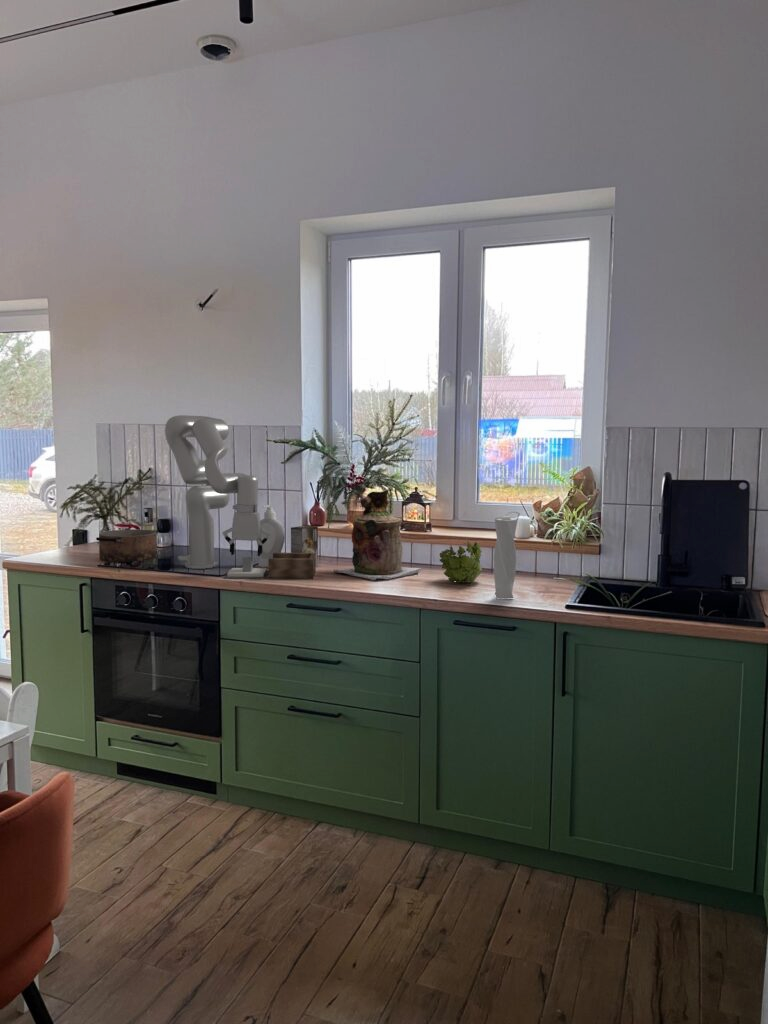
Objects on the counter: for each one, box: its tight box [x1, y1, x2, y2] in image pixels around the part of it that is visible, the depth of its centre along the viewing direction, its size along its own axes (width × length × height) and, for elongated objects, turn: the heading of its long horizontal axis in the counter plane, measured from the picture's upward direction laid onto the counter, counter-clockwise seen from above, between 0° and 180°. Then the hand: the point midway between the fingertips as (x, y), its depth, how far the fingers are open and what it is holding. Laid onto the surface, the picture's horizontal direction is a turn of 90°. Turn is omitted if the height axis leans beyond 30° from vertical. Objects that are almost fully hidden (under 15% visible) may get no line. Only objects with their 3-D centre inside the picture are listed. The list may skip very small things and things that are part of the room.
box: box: [268, 552, 317, 580], centre depth 280 cm, size 16×15×7 cm
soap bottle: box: [256, 504, 286, 568], centre depth 296 cm, size 13×8×24 cm, turn 69°
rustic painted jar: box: [333, 489, 422, 581], centre depth 285 cm, size 25×25×32 cm
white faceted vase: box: [493, 511, 520, 599], centre depth 246 cm, size 8×8×28 cm
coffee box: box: [290, 525, 319, 568], centre depth 297 cm, size 9×6×16 cm
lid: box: [226, 555, 268, 577], centre depth 280 cm, size 13×11×6 cm
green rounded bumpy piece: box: [439, 540, 483, 583], centre depth 271 cm, size 18×16×16 cm
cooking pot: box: [95, 528, 158, 563], centre depth 314 cm, size 30×22×11 cm
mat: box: [223, 569, 269, 580], centre depth 280 cm, size 15×15×1 cm
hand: (245, 555), depth 280 cm, fingers open, 9 cm apart
